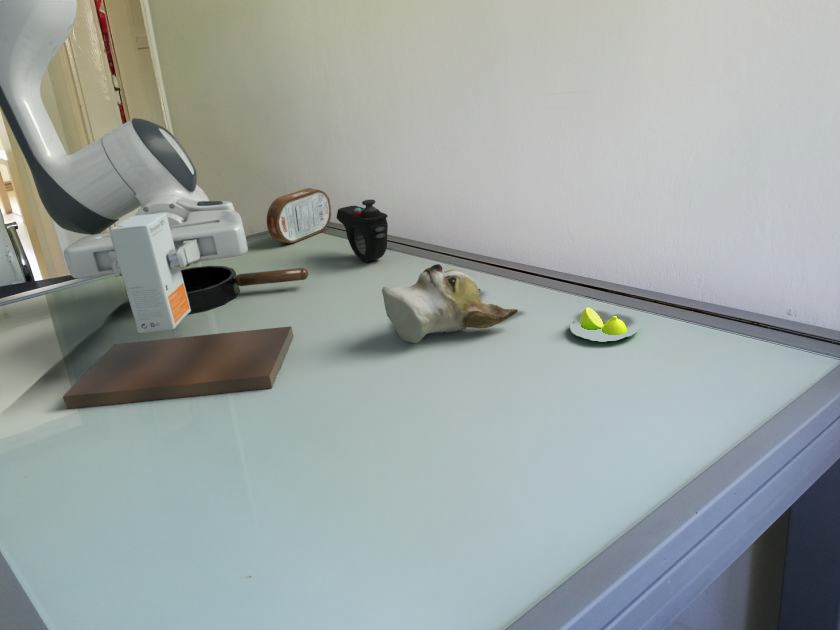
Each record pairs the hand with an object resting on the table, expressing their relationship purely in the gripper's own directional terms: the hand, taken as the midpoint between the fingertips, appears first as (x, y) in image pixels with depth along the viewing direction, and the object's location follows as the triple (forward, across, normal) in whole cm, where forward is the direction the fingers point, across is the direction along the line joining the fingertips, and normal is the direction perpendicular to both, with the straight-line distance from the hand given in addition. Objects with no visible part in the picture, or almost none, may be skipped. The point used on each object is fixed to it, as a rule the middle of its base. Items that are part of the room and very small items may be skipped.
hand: (148, 265), depth 80 cm
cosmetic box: (-1, 0, +7) cm, 7 cm away
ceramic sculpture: (+2, +32, +13) cm, 34 cm away
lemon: (+10, +49, +13) cm, 51 cm away
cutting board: (+2, +2, +12) cm, 13 cm away
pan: (-24, +4, +13) cm, 28 cm away
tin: (-53, +15, +13) cm, 57 cm away
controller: (-33, +25, +13) cm, 44 cm away
